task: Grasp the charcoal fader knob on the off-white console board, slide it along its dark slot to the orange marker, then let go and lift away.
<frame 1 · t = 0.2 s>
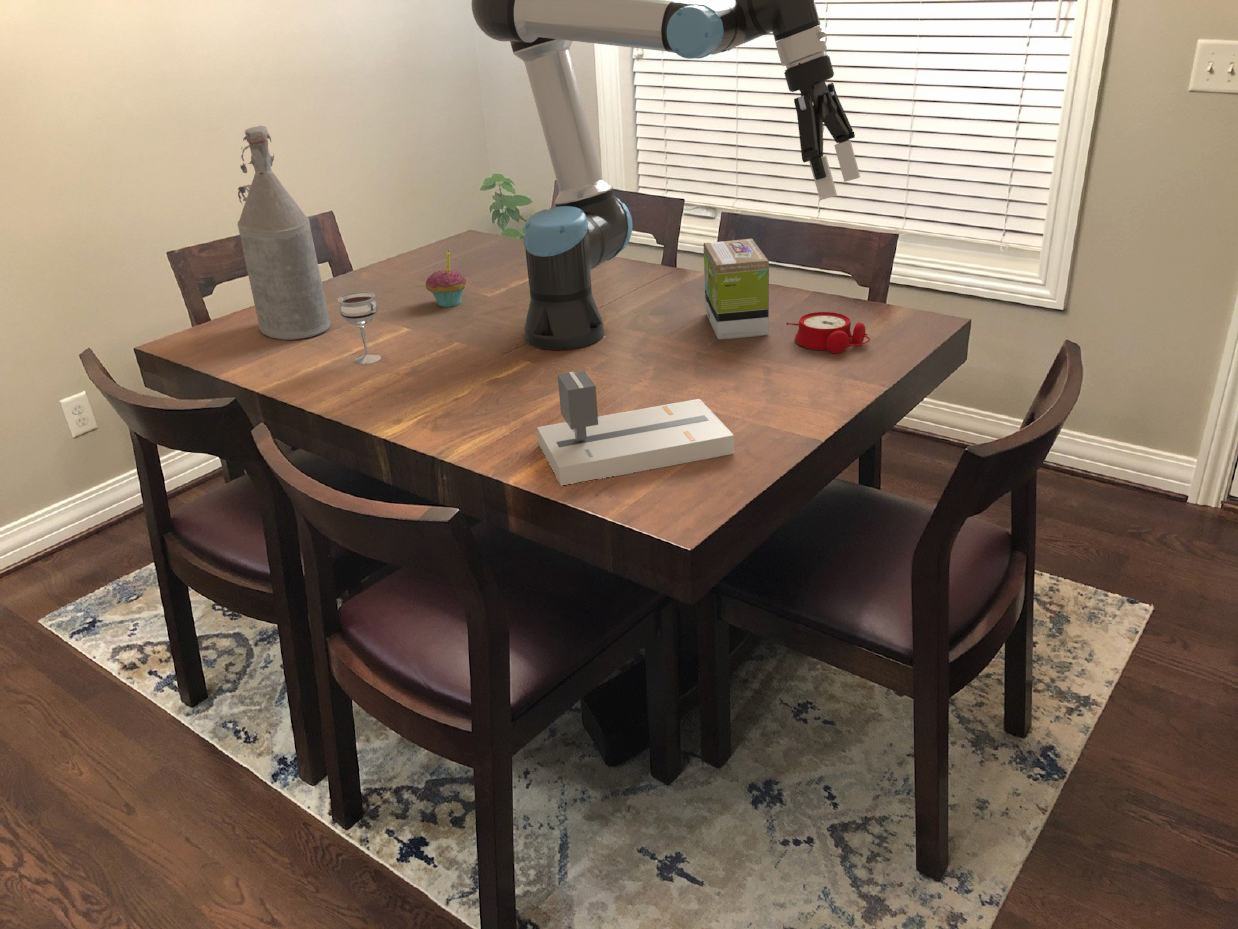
hand: (840, 188, 171), 28 cm above the table, tool tilted 20°, fingers open, 13 cm apart
cupcake: (448, 304, 217), on the table
tea box: (735, 325, 196), on the table
alarm clock: (830, 344, 185), on the table
fader knob: (578, 409, 145), point 8 cm above the table, slide at -8.0 cm
wineglass: (367, 360, 190), on the table
stoneware bottle: (294, 329, 208), on the table
console: (634, 449, 151), on the table
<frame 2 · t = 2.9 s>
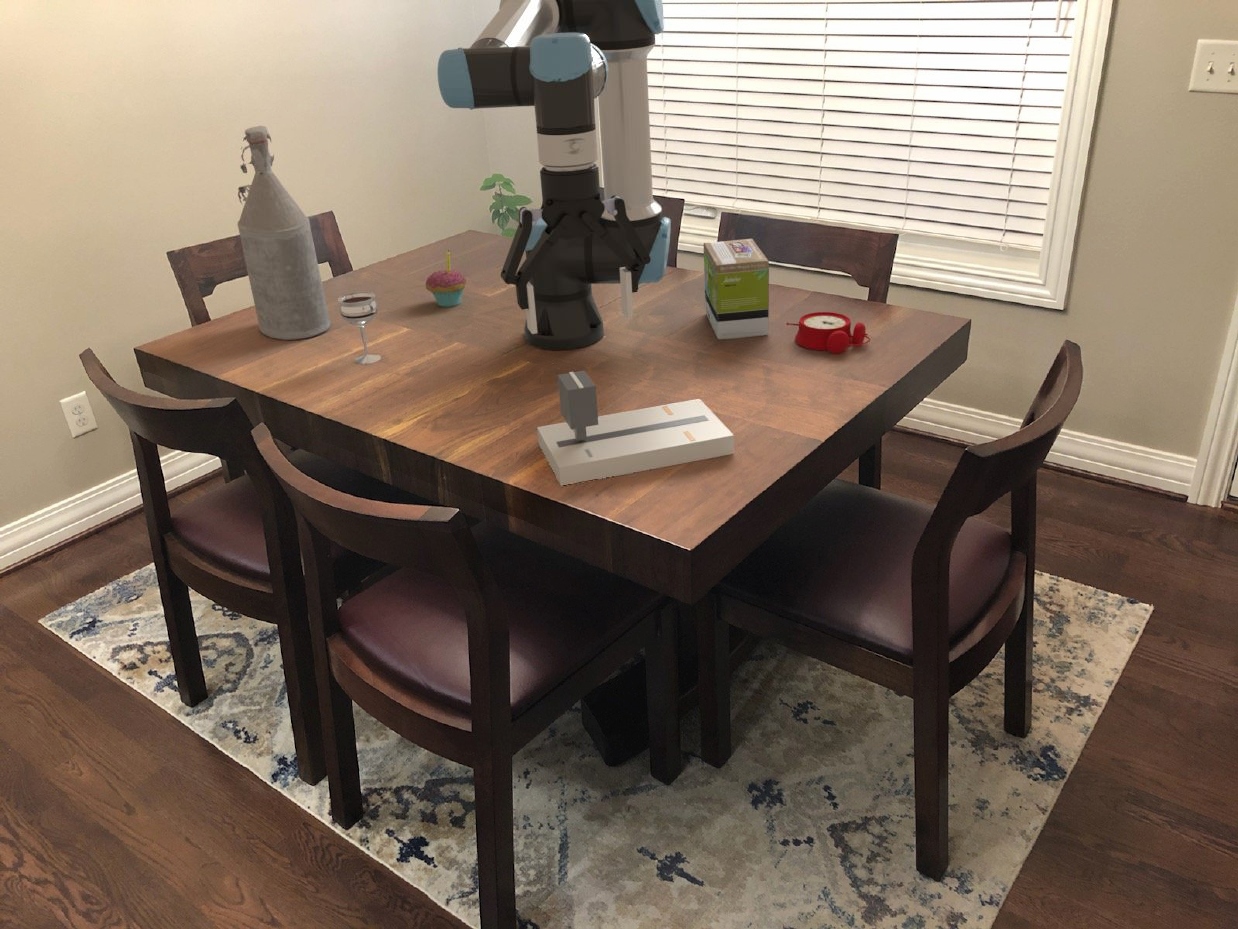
hand: (580, 323, 140), 21 cm above the table, tool pointing down, fingers open, 13 cm apart
nothing on the table moved.
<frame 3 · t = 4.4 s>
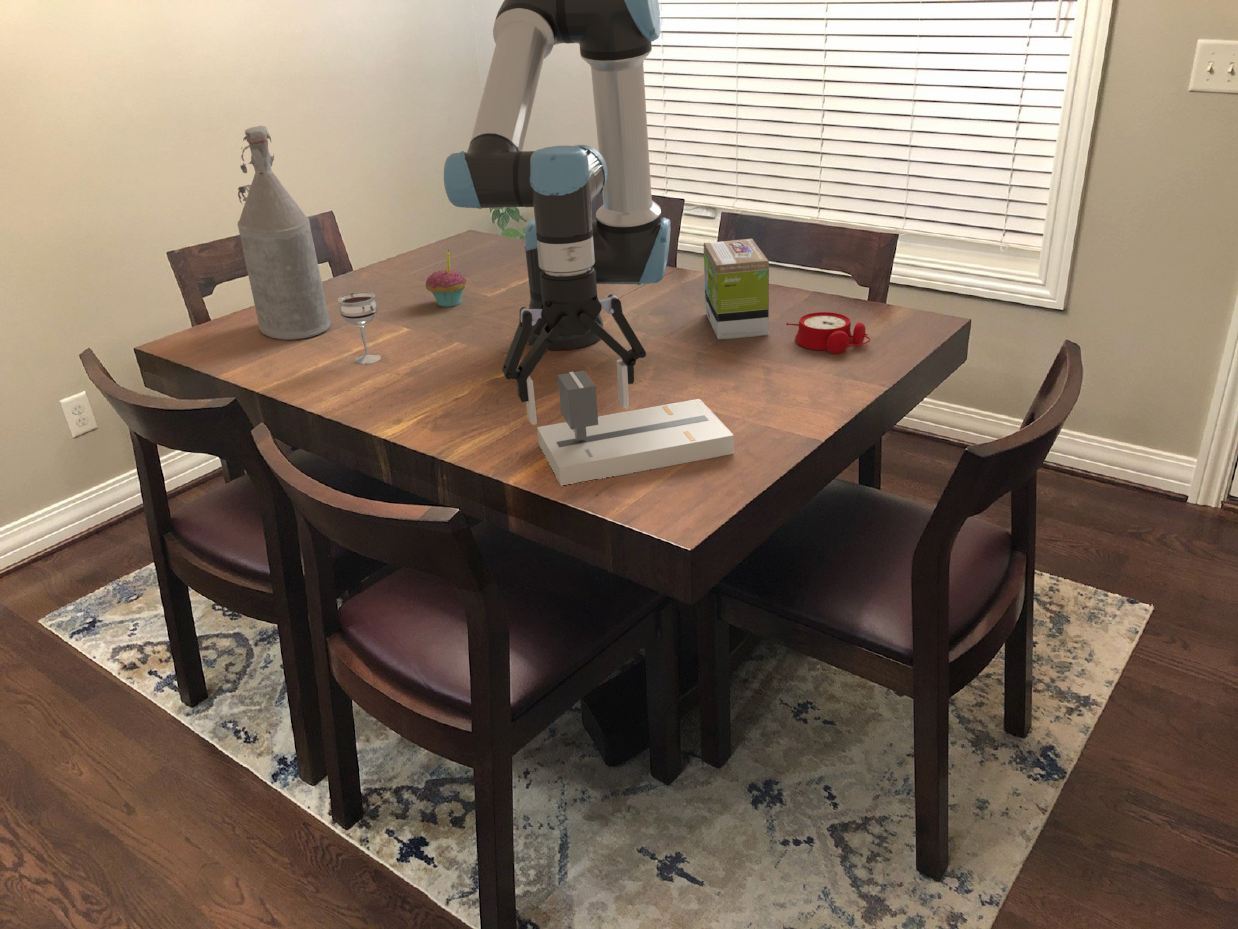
hand: (578, 412, 146), 7 cm above the table, tool pointing down, fingers open, 13 cm apart
nothing on the table moved.
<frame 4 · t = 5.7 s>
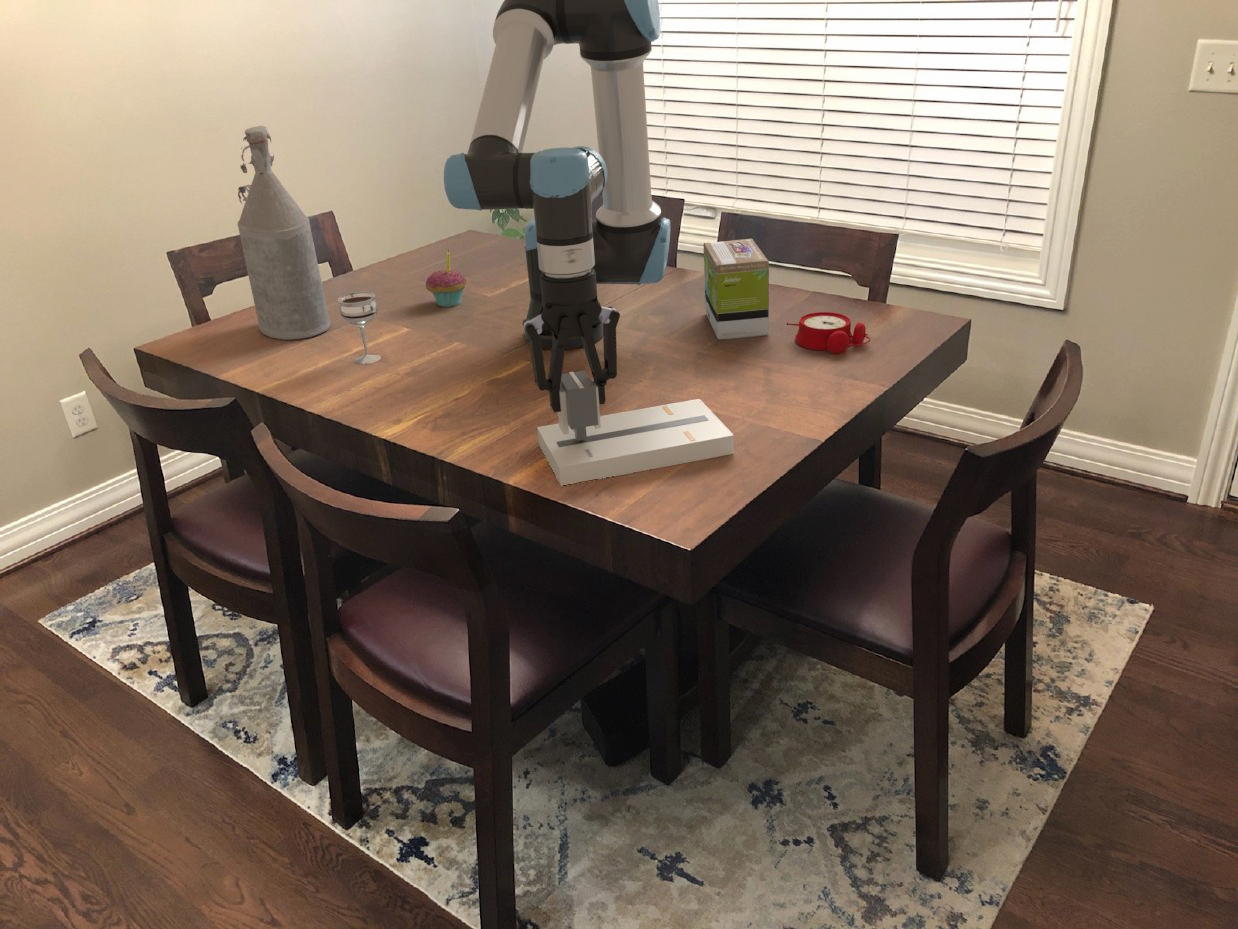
hand: (580, 427, 147), 5 cm above the table, tool pointing down, fingers closed on fader knob, 4 cm apart
fader knob: (578, 409, 145), point 8 cm above the table, slide at -8.0 cm, touching gripper
everything else where it was.
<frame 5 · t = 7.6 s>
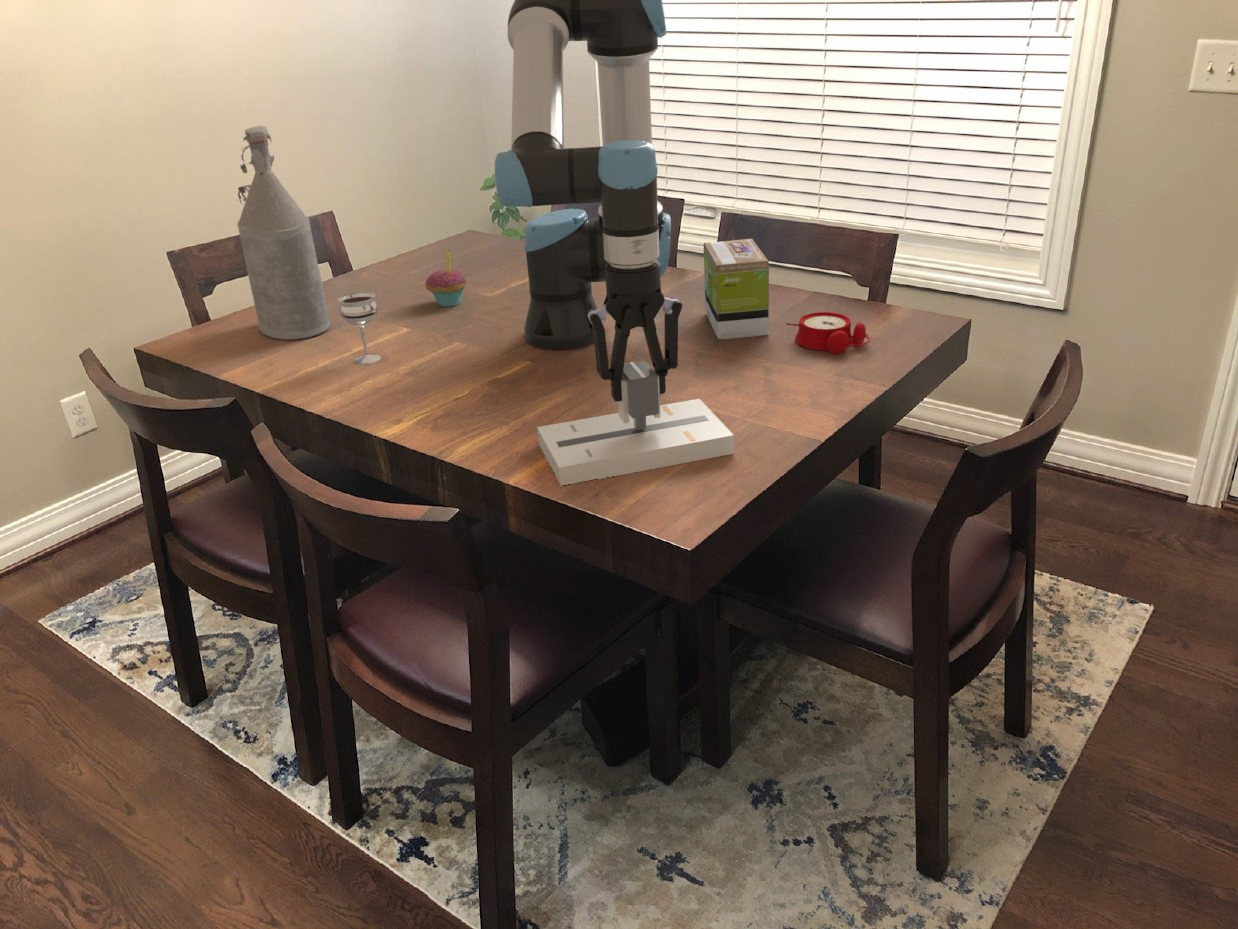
hand: (639, 416, 149), 5 cm above the table, tool pointing down, fingers closed on fader knob, 4 cm apart
fader knob: (638, 398, 148), point 8 cm above the table, slide at 1.1 cm, touching gripper
everything else where it was.
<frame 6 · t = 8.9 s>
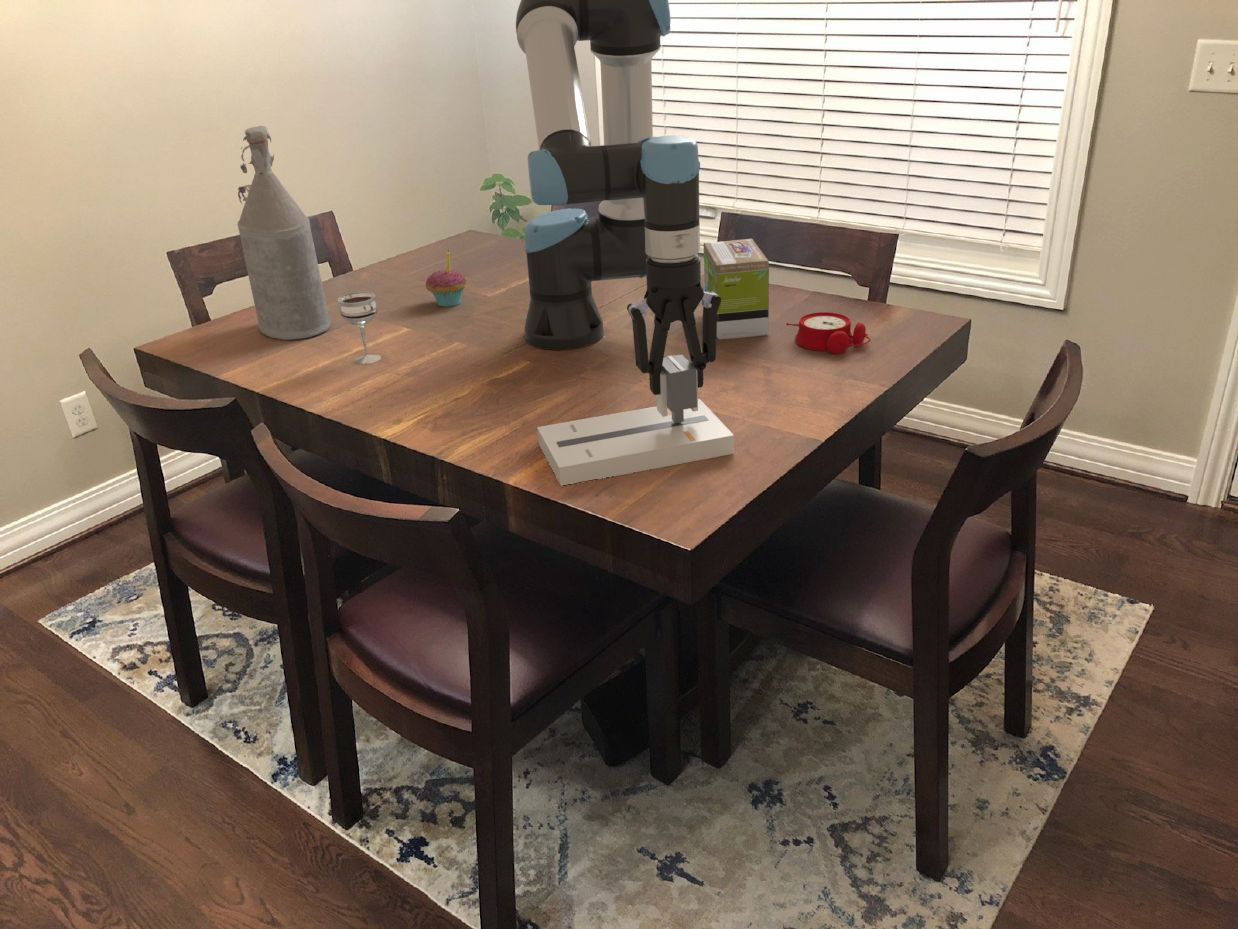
hand: (677, 409, 150), 5 cm above the table, tool pointing down, fingers closed on fader knob, 4 cm apart
fader knob: (676, 392, 149), point 8 cm above the table, slide at 6.9 cm, touching gripper
everything else where it was.
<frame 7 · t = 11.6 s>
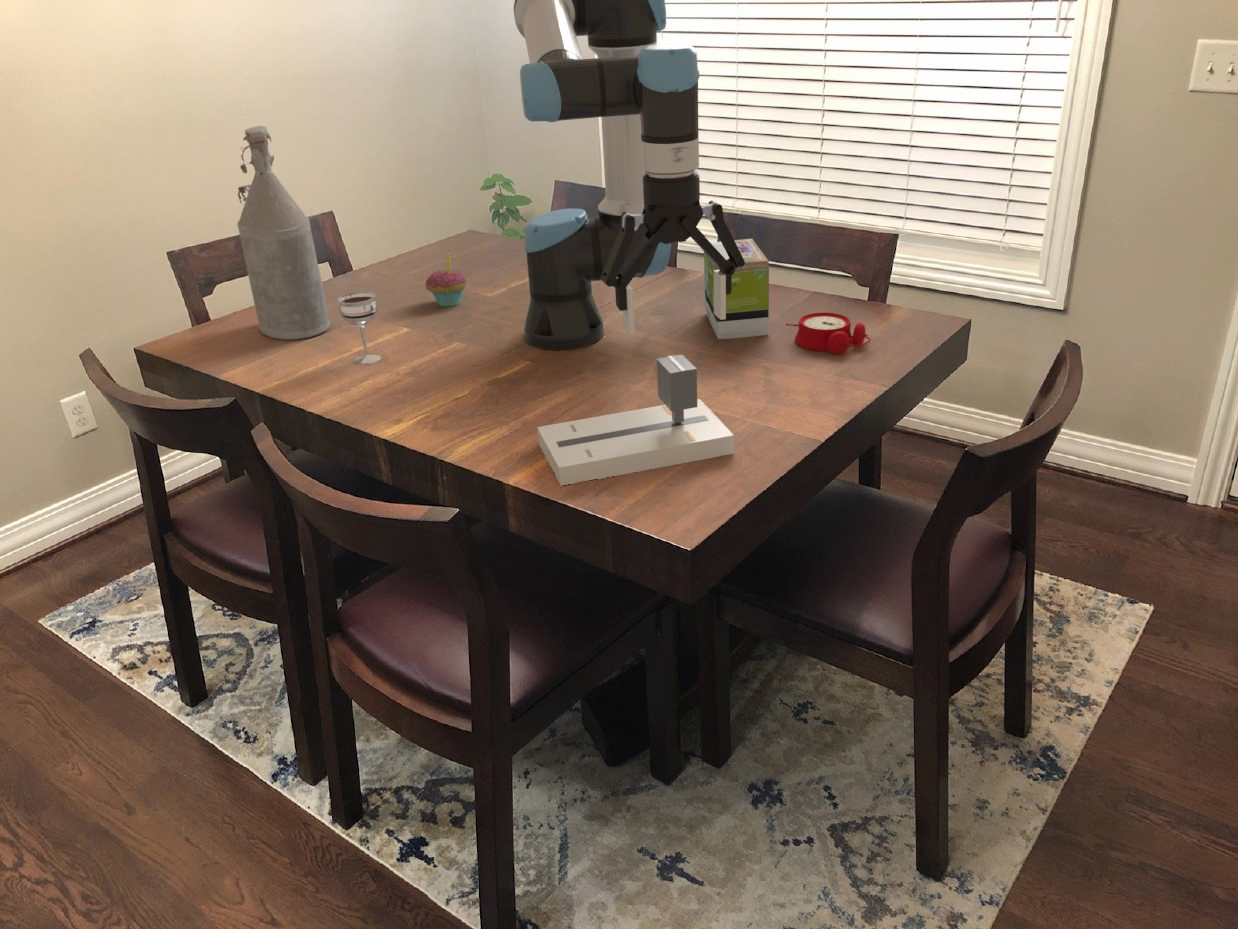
hand: (675, 323, 144), 18 cm above the table, tool pointing down, fingers open, 13 cm apart
fader knob: (677, 392, 149), point 8 cm above the table, slide at 7.0 cm
everything else where it was.
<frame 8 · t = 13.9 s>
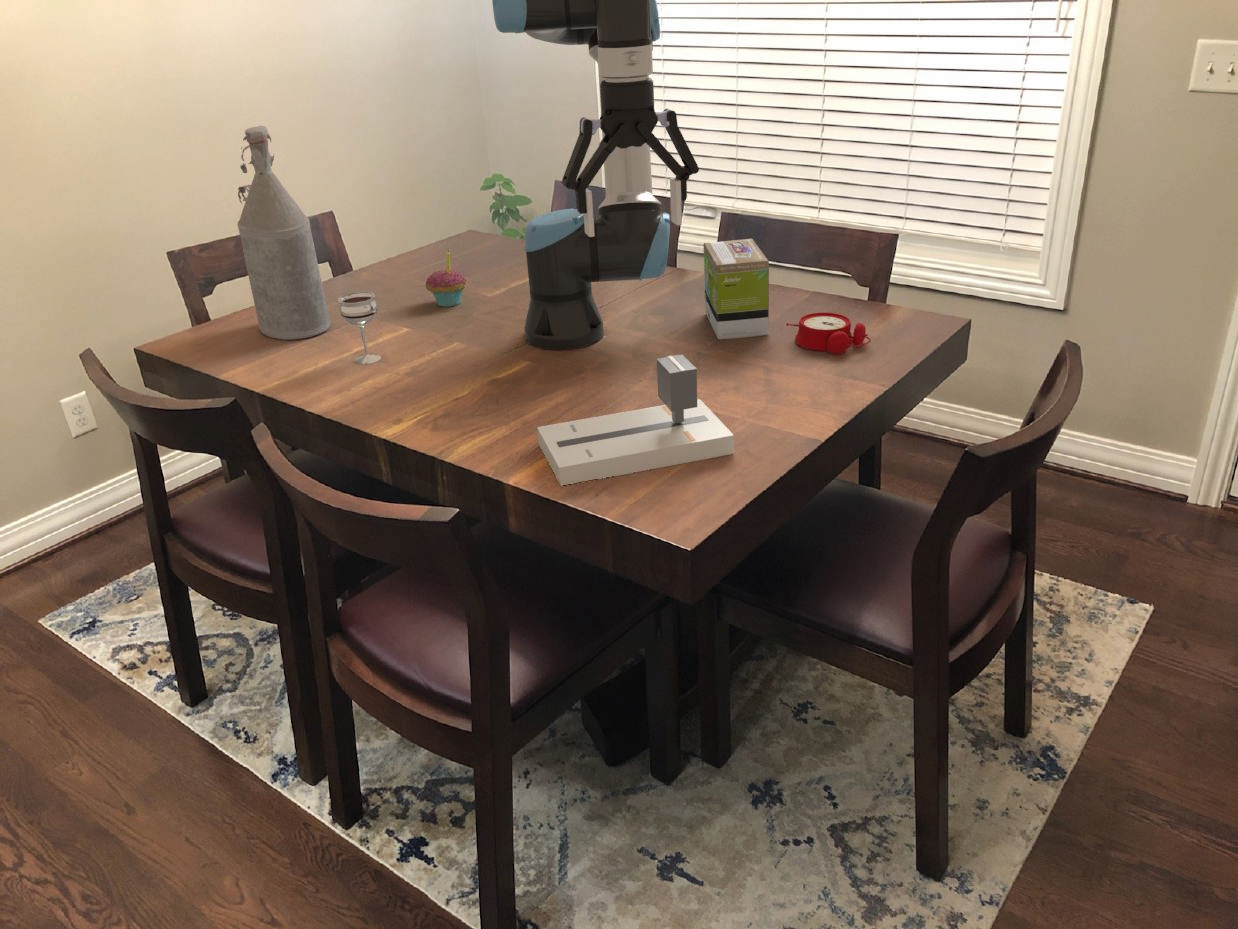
hand: (633, 228, 152), 29 cm above the table, tool pointing down, fingers open, 13 cm apart
nothing on the table moved.
at the end: fader knob slide at 7.0 cm; the gripper is holding nothing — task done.
